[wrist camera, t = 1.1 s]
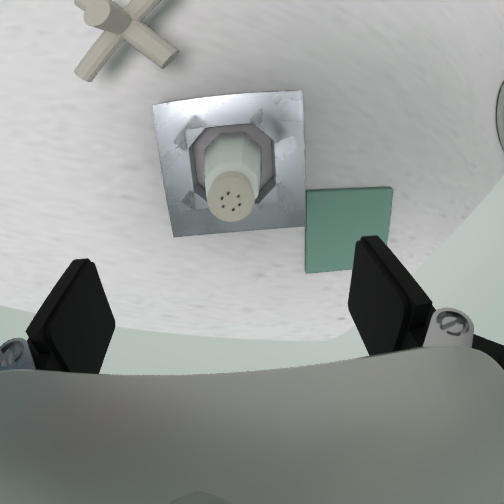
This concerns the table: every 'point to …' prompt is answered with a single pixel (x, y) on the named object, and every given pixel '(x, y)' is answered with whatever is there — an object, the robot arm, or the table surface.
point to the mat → (343, 224)
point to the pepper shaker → (232, 175)
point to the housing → (231, 113)
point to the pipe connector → (121, 34)
